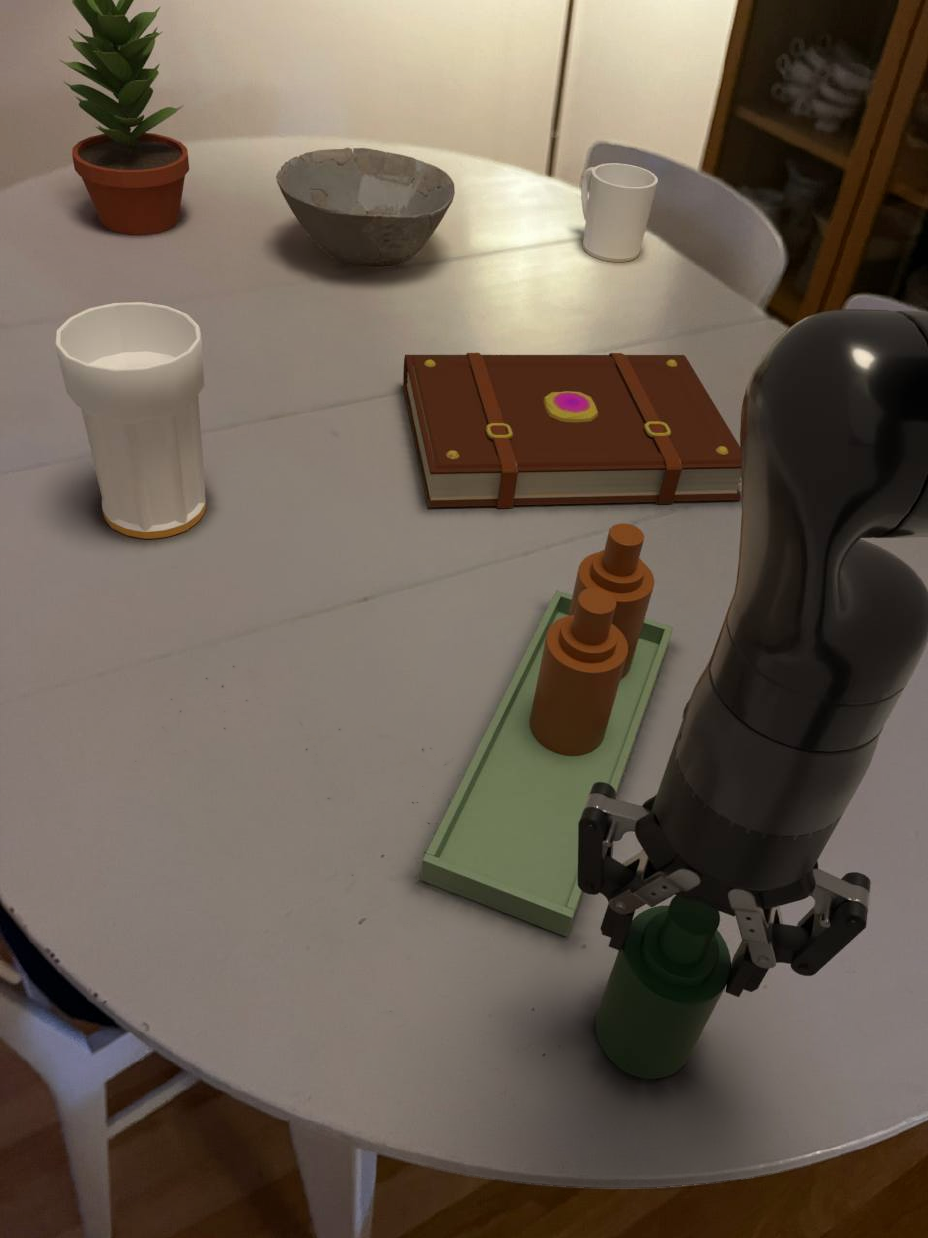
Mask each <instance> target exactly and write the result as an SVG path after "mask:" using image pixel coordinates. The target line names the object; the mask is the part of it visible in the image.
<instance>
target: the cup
mask: <svg viewBox="0 0 928 1238" xmlns="http://www.w3.org/2000/svg"><path fill="white" fill-rule="evenodd" d="M201 332H202V331H201V326H200V325H199V324H198V323H197V322H196V321H195V320H193V318H192V317H191V316H190V315H189V314H188V313H187V312H186V313H185V312H183V311H180V310H178V309H175V308H173V307H171V306H168V305H163V304H156V303H152V302H151V303H150V302H144V301H136V302H135V301H134V302H133V301H131V302H113V303H107V304H103V305H98V306H94V307H89V308H86V309H85V310H82V311H80V312H79V313H76V314H74V315H72V316H71V317H68V319H66V321H64V323H62V324H61V326H60V327H59V328H58V329H57V330H56V331H55V343H54V346H55V351H56V355H57V359H58V362H59V366H60V367H59V368H60V371H61V374H62V378H63V379H62V380H63V383H64V387H65V390H66V393H67V395H68V396H69V397H70V398H71V400H72V401H73V403H74V404H75V405H76V406H77V407H78V408H80V411H81V414H82V419H83V422H84V427H85V432H86V435H87V439H88V444H89V448H90V452H91V456H92V460H93V465H94V468H95V473H96V478H97V482H98V486H99V487H98V488H99V491H100V496H101V507H102V508H101V510H102V514H103V518H104V520H105V521H106V523H107V524H108V525H109V527H110V528H111V529H113V530H114V531H116V532H118V533H120V534H123V535H125V536H127V537H128V536H129V537H134V538H138V539H143V540H149V539H152V540H153V539H163V538H168V537H171V536H175V535H178V534H181V533H184V532H187V531H188V530H189V529H191V528H192V527H194V526H195V525H196V524H198V522H200V521H201V520H202V517H204V516H203V515H204V514H205V513H206V510H207V502H206V485H205V473H204V457H203V443H202V442H203V441H202V428H201V414H200V413H201V412H200V400H199V394H200V393H201V391H202V390H203V388H204V387H205V374H204V373H205V371H204V357H203V343H202V341H203V340H202V334H201Z"/></svg>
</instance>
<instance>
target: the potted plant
mask: <svg viewBox="0 0 928 1238" xmlns="http://www.w3.org/2000/svg"><path fill="white" fill-rule="evenodd" d="M134 1H135V0H118V1H117V3H116V4H115V1H114V0H71V3H72V5H73V6H74V7H75V8H76V10H77V11H78V13H79V14H80V15H81V17H82V18H83V19H84V20H85V21H86V23H87V24H88V25H89V26H90V28H91V33H92V36H90V35H89V36H88V35H85V34H83V33H82V32H80V31H79V30H78V29H76V28H74V30H75V32H77V34H78V35H79V36H80V37H81V38H83V39H84V41H76V40H74V39H73V38H72V37H70V36H69V35H67V37H68V38H69V40H70V41H71V43H72V46H73V47H74V49H75V50H77V51H78V52H79V54H80V55H81V56H82V57H84V58H85V60H87V61H88V62H89V64H91V66H90V65H88V64H86V63H83V62H79V61H70V62H65V61H64V60H62V59H59V58H57V61H60V62H61V63H63V64H64V65H66V66H67V67H68V68H70V69H72V70H73V71H75V72H77V73H79V74H80V75H82V76H83V77H85V78H87V79H89V80H91V81H92V82H94V83H96V84H97V85H99V86H100V87H103V88H104V89H105V90H107V91H109V92H111V93H112V94H113V96H114V97H115V99H116V100H118V101H116V100H115V99H113V98H112V97H110V96H108V95H107V94H105V93H104V92H102V91H100V90H98V89H96V88H94V87H91V86H89V85H86V84H80V83H79V84H70V83H68V82H66V81H62V83H64V84H65V85H66V86H68V87H69V88H70V90H71V91H73V92H74V93H76V94H78V95H79V96H81V97H82V98H84V99H82V98H80V97H77V96H74V97H75V98H76V99H77V100H78V102H79V103H78V107H79V108H80V109H81V110H82V111H83V112H85V113H87V114H88V115H89V116H91V117H92V118H93V119H94V120H96V121H97V122H99V123H100V124H101V125H103V126H104V127H105V128H104V127H102V126H100V125H97V126H95V128H96V129H97V130H99V131H100V132H101V134H97V135H92V136H88V137H86V138H84V139H82V140H80V141H78V142H77V143H76V144H75V145H74V146H72V149H71V150H72V151H71V157H72V163H73V167H74V168H73V169H74V171H75V172H76V174H77V175H78V176H79V177H81V179H82V182H83V184H84V187H85V189H86V191H87V193H88V196H89V198H90V201H91V203H92V205H93V207H94V210H95V213H96V214H97V216H98V217H97V218H98V219H99V221H100V223H101V224H102V225H103V227H104V228H106V229H108V230H110V231H112V232H115V233H119V234H125V235H133V236H139V235H141V236H142V235H143V236H146V235H147V236H148V235H153V234H159V233H162V232H166V231H169V230H170V229H172V228H173V227H175V226H176V225H177V223H178V222H179V217H180V210H181V205H182V199H183V192H184V185H185V179H186V175H187V174H188V173H189V171H190V162H189V153H188V152H189V151H188V148H187V146H186V145H184V144H183V143H182V142H180V141H179V140H176V139H174V138H172V137H170V136H166V135H162V134H157V133H151V132H149V131H150V130H152V129H154V128H155V127H157V126H158V125H159V124H161V123H163V122H164V121H166V120H167V119H169V118H170V117H172V116H173V115H175V114H176V113H177V112H178V111H179V110H180V109H182V108H183V107H184V104H183V105H181V106H179V107H173V106H169V107H168V106H166V107H164V108H161V109H159V110H158V111H156V112H154V113H152V114H150V115H149V116H148V117H146V118H145V115H144V114H142V113H143V112H144V110H145V109H146V107H147V105H148V103H149V102H150V100H151V98H152V97H153V93H154V89H153V88H152V87H151V85H152V84H153V83H154V81H155V79H156V78H157V77H158V75H159V73H160V72H159V70H158V69H159V67H160V65H161V64H160V62H159V63H158V64H157V65H156V66H155V67H154V68H145V65H146V63H147V62H148V60H149V58H150V55H151V54H152V52H153V49H154V47H155V44H156V38H157V37H159V36H160V35H161V34H162V33H163V31H160V32H157V30H158V26H156V27H155V29H154V30H153V31H152V32H151V33H148V34H145V35H144V36H143V34H144V32H145V31H146V30H147V29H148V27H149V26H150V25H151V24H152V23H153V22H154V20H155V18H156V17H157V15H158V12H159V11H160V9H161V6H159V7H158V8H157V9H156V10H155V11H142V12H139V13H137V14H135V16H134V17H133V18H131V20H130V21H129V19H128V17H127V16H126V15H127V13H128V11H129V9H130V8H131V6H132V4H133V3H134ZM142 36H143V37H142ZM141 114H142V115H141ZM132 128H134V129H132Z"/></svg>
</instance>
